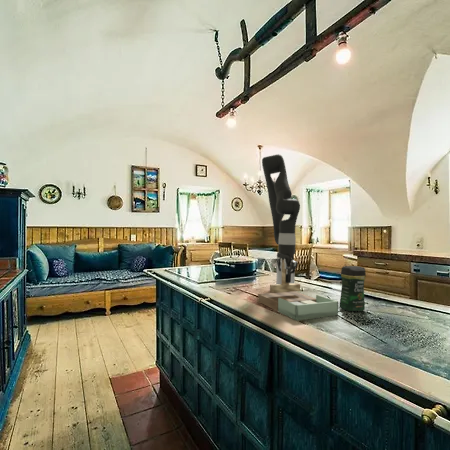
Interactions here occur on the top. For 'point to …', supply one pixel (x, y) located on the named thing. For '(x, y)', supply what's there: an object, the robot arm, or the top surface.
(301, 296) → the walnut plate
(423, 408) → the top surface
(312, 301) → the cream tile
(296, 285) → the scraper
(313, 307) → the box
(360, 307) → the coffee jar
